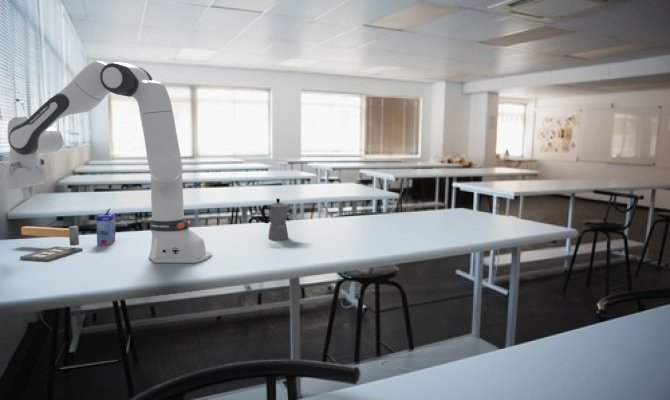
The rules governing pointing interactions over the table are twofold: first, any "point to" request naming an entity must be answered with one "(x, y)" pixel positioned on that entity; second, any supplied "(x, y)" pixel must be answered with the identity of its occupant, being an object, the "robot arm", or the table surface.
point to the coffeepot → (277, 220)
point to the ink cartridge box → (105, 228)
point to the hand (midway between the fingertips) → (28, 198)
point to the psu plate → (51, 253)
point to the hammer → (54, 232)
